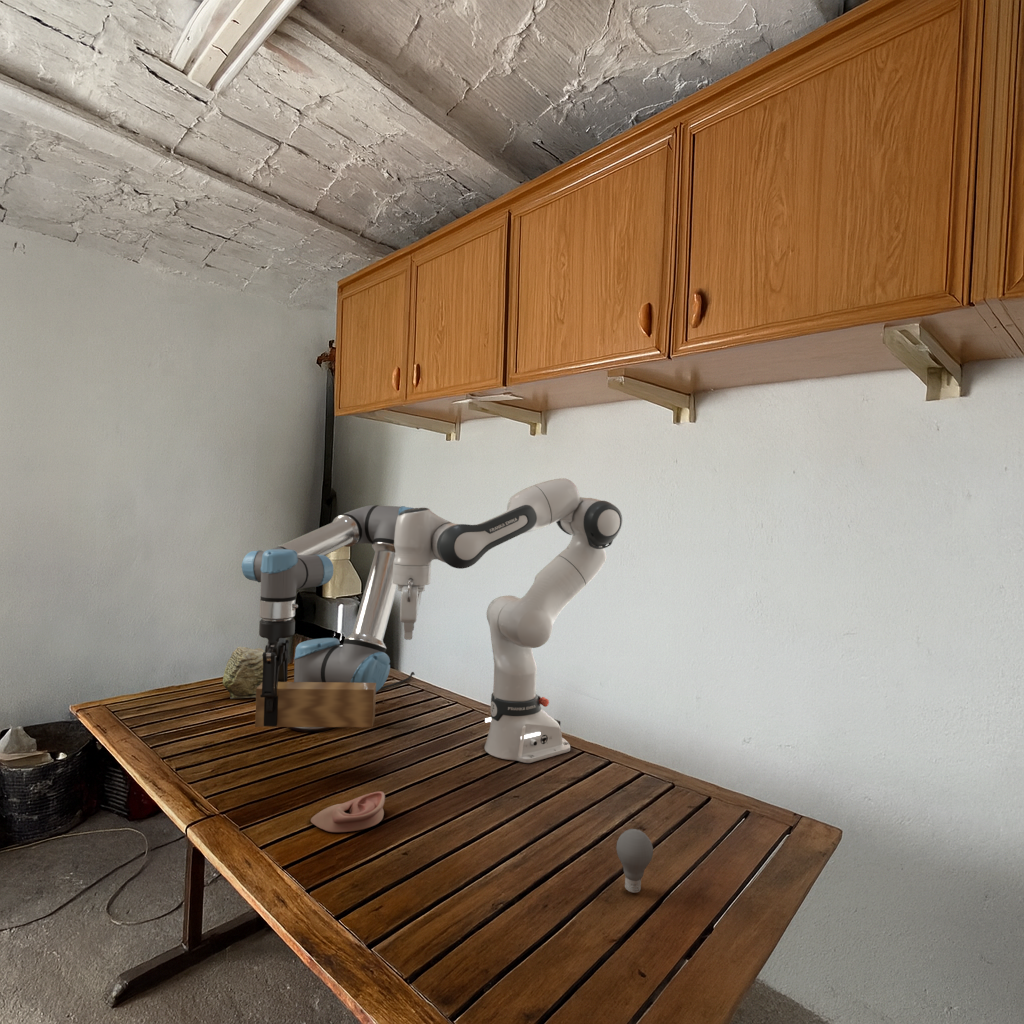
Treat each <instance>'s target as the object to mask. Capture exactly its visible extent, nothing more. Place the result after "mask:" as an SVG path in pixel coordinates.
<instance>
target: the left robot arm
mask: <svg viewBox="0 0 1024 1024" xmlns="http://www.w3.org/2000/svg"><path fill="white" fill-rule="evenodd" d="M413 508H414V507H409V506H405V505H402V506H401V505H400V506H394V505H378V504H377V505H376V504H372V505H371V504H370V505H365V506H361V507H358V508H354V509H352V510H350V511H347V512H344V513H342V514H340V515H338V516H336V517H334V518H333V520H332V522H330V523H328V524H326V525H323V526H321V527H319V528H317V529H314V530H311V531H309V532H307V533H305V534H303V535H301V536H298V537H296V538H294V539H292V540H289V541H287V542H284V543H282V544H280V545H278V546H275V547H273V548H269V549H266V550H251V551H249V552H247V553H246V555H244V557H243V559H242V562H241V571H242V572H241V573H242V574H243V576H244V577H245V578H246V580H249V581H253V582H257V583H260V599H259V618H260V620H259V624H258V625H259V626H258V628H259V629H258V635H259V637H261V638H263V639H267V644H266V645H265V647H264V652H263V655H262V656H263V679H262V695H260V697H265V699H264V726H277V714H278V696H277V686H278V682H288V680H289V679H288V673H289V672H288V671H289V670H288V669H289V647H290V645H289V644H290V639H288V638H291V637H293V636H294V635H295V633H296V631H295V630H296V619H295V618H294V617H295V616H296V609H298V608H299V605H298V603H296V599H297V590H301V589H306V588H313V587H315V588H317V587H320V586H323V585H326V584H328V583H329V582H330V581H331V580H332V578H333V576H334V570H335V569H334V563H333V562H332V560H331V558H329V557H328V555H329V554H331V553H332V552H335V551H337V550H339V549H342V548H343V547H346V548H349V547H353V546H355V545H360V544H367V545H371V547H372V549H373V551H374V556H373V559H372V563H371V566H370V570H369V574H368V576H367V581H366V583H365V587H364V590H363V594H362V596H361V597H362V598H361V600H360V604H359V608H358V610H357V611H358V612H357V615H356V618H355V622H354V625H353V628H352V632H351V634H350V635H348V636H346V637H345V638H344V640H343V643H342V646H341V645H340V644H341V643H340V640H339V638H336V637H321V638H313V639H307V640H304V641H302V642H299V643H298V644H297V645H296V647H295V652H294V653H295V654H294V657H293V659H294V661H293V662H294V663H293V665H294V667H293V682H347V683H376V693H378V692H379V691H380V690H383V689H386V688H390V687H393V686H396V685H400V684H402V683H405V682H407V681H409V680H411V679H412V677H413V676H414V675H416V674H415V672H414V671H410V674H409V677H406V678H404V679H402V680H400V681H396V682H394V683H391V684H387V685H385V684H386V682H387V680H388V678H389V675H390V671H391V664H390V663H391V660H390V656H389V655H388V654H387V653H386V652H387V646H386V643H384V638H385V634H386V630H387V628H388V627H387V626H388V623H389V619H390V615H391V611H392V608H393V604H394V601H395V598H396V597H395V596H396V593H397V590H398V585H397V584H393V561H394V558H395V547H394V536H395V526H396V521H397V517H398V515H399V514H400V513H401V512H402V511H404V510H407V509H413ZM335 728H336V727H287V729H289V730H291V731H294V732H295V731H296V732H301V733H316V732H325V731H329V730H332V729H335Z"/></svg>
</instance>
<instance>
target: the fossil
mask: <svg viewBox="0 0 1024 1024" xmlns="http://www.w3.org/2000/svg"><path fill="white" fill-rule="evenodd" d="M263 652H265V649H263V648H260V647H258V648H251V647H247V646H246V647H245V646H238V647H237V648H236V649H235V650H233V651H232V653H231V656H230V657H229V659H228V660H227V663H226V666H225V668H224V671H223V675H222V676H223V677H222V685H223V687H224V688H225V690H226V691H228V693H229V698H230V699H250V698H256V688H257V687H258V686H259V685H260V684H261V683H262V679H263V656H262V655H263Z"/></svg>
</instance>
